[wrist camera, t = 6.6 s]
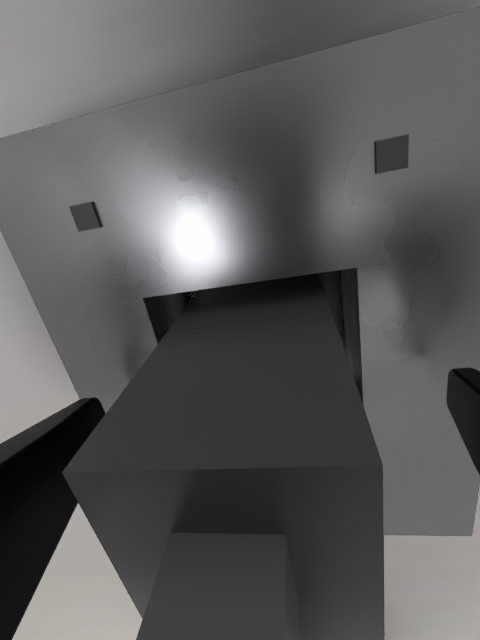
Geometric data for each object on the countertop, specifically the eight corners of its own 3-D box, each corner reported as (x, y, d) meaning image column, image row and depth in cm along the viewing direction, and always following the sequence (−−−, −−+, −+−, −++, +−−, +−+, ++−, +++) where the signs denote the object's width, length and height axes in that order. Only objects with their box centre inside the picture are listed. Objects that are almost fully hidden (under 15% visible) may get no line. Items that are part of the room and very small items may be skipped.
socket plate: (434, 462, 13) (473, 538, 11) (167, 469, 16) (141, 534, 13) (462, 50, 8) (558, -18, 5) (47, 155, 10) (-42, 148, 7)
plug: (326, 368, 12) (411, 781, 4) (225, 377, 13) (118, 737, 5) (317, 267, 11) (426, 598, 2) (203, 283, 11) (-16, 575, 3)
